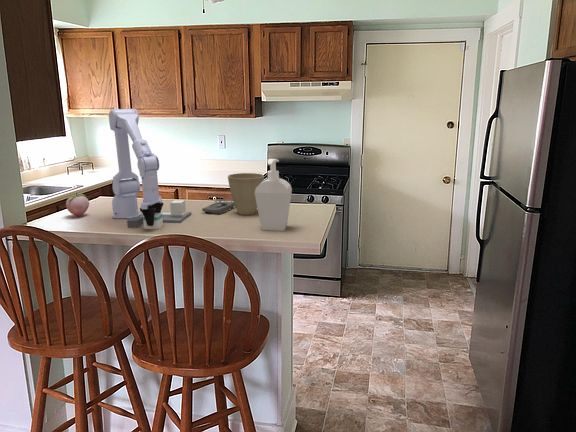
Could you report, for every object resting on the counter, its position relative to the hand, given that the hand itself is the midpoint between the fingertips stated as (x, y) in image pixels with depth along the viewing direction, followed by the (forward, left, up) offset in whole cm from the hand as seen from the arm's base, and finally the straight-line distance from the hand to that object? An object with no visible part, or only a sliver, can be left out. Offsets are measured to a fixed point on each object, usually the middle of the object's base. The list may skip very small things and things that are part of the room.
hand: (153, 223), depth 181 cm
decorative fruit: (-39, +15, -2) cm, 42 cm away
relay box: (-8, +2, -2) cm, 8 cm away
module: (0, 0, -1) cm, 1 cm away
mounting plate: (-1, +14, -1) cm, 14 cm away
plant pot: (+31, +25, -2) cm, 40 cm away
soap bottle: (+46, +1, -2) cm, 46 cm away
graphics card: (+17, +30, -2) cm, 35 cm away
